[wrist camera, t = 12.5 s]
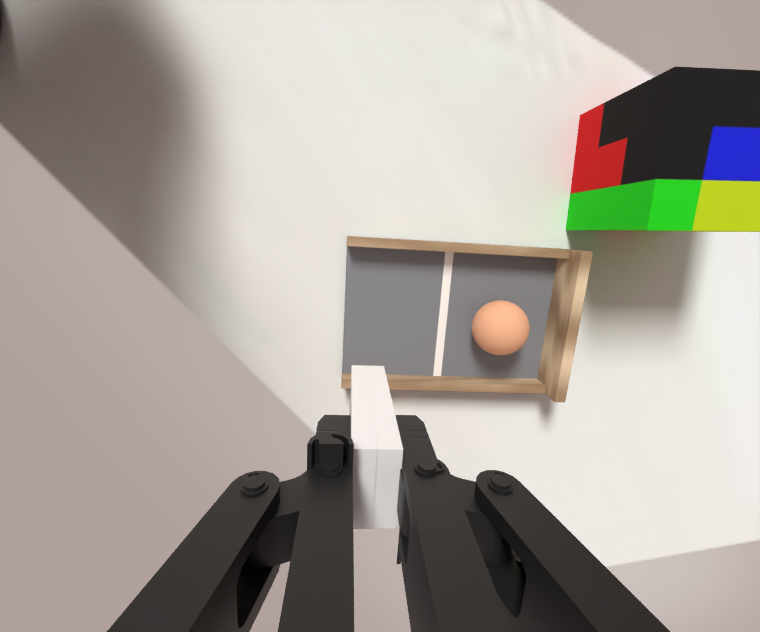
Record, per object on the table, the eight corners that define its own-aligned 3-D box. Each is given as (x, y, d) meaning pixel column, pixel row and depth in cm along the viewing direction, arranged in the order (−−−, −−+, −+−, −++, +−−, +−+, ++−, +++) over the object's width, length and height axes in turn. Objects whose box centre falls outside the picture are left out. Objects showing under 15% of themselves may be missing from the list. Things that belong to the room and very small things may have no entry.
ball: (543, 302, 33) (493, 293, 36) (514, 309, 29) (463, 299, 33) (536, 354, 34) (488, 341, 37) (508, 368, 30) (459, 352, 34)
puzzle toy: (684, 119, 33) (820, 73, 24) (663, 231, 36) (780, 231, 26) (579, 115, 33) (675, 66, 23) (565, 230, 35) (646, 229, 25)
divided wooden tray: (347, 236, 33) (346, 236, 29) (569, 249, 35) (593, 251, 31) (341, 380, 36) (340, 396, 33) (545, 386, 38) (564, 402, 34)
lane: (347, 236, 34) (347, 236, 33) (565, 249, 35) (569, 249, 35) (342, 378, 37) (341, 380, 36) (542, 383, 38) (545, 386, 38)
